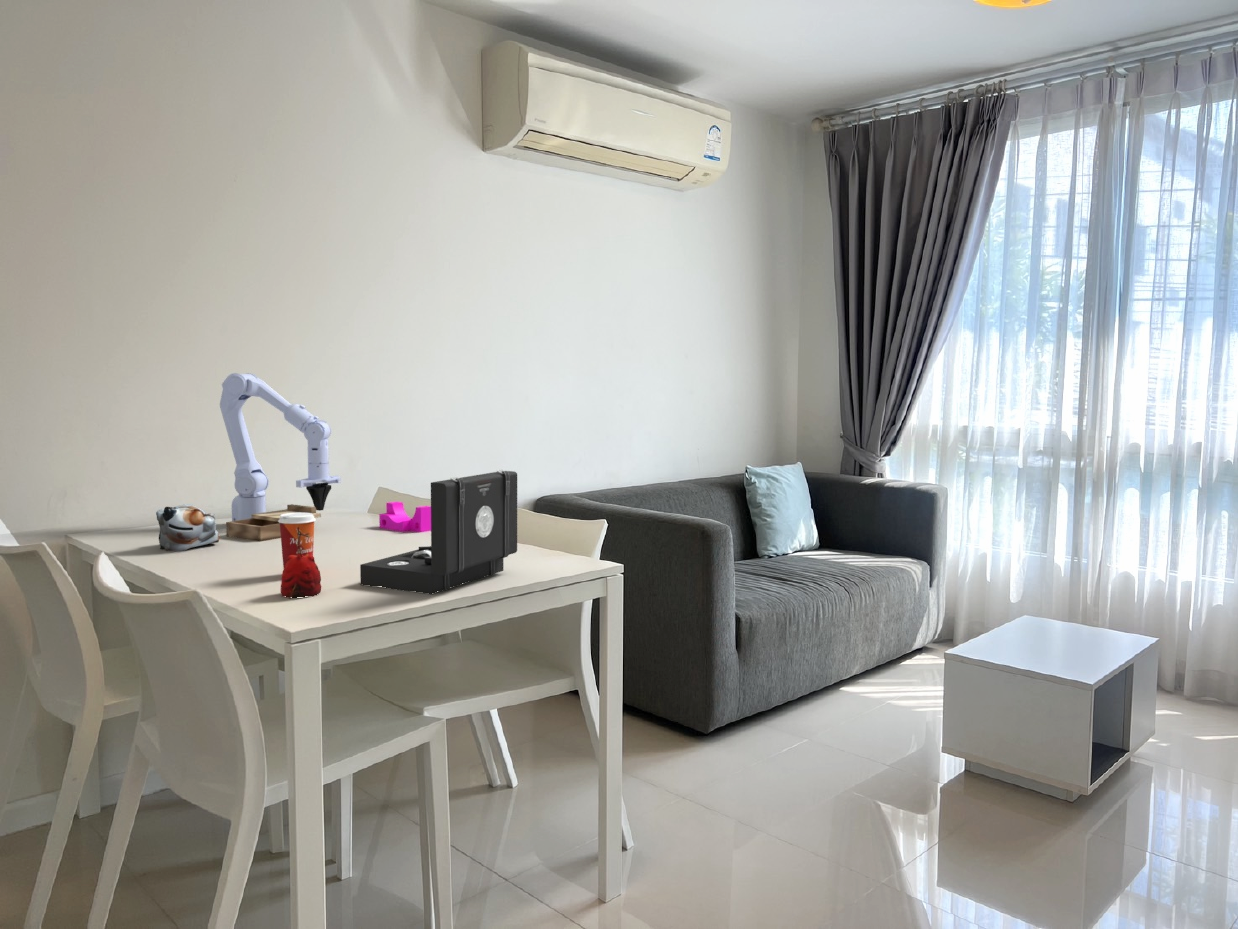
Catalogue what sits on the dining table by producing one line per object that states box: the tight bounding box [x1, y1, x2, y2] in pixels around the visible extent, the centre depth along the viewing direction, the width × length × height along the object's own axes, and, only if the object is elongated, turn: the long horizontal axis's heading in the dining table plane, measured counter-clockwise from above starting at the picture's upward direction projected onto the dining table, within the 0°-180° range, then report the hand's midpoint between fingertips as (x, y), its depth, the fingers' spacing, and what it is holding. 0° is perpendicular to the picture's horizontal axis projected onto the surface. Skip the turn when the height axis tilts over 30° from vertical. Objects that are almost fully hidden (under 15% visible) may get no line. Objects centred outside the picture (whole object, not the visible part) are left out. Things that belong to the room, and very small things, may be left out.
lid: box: [251, 503, 322, 522], centre depth 254 cm, size 14×12×3 cm
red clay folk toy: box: [280, 526, 322, 598], centre depth 179 cm, size 8×7×15 cm
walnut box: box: [225, 518, 281, 542], centre depth 247 cm, size 14×12×4 cm
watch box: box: [359, 469, 518, 595], centre depth 195 cm, size 26×28×24 cm
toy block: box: [379, 501, 431, 533], centre depth 259 cm, size 15×6×8 cm, turn 52°
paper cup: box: [278, 512, 317, 569], centre depth 197 cm, size 8×8×14 cm
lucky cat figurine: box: [155, 504, 220, 552], centre depth 228 cm, size 15×12×14 cm
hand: (319, 510), depth 263 cm, fingers closed
